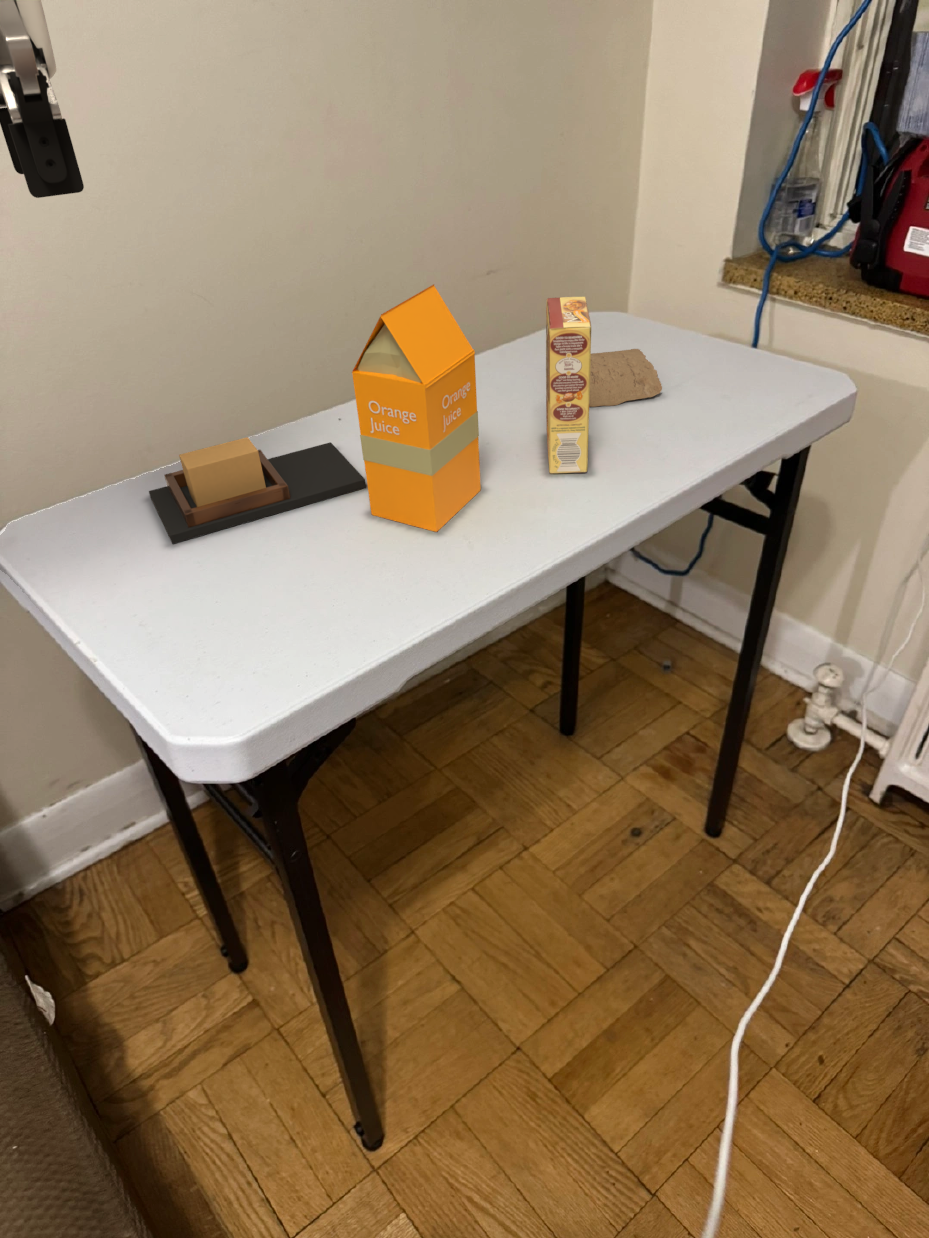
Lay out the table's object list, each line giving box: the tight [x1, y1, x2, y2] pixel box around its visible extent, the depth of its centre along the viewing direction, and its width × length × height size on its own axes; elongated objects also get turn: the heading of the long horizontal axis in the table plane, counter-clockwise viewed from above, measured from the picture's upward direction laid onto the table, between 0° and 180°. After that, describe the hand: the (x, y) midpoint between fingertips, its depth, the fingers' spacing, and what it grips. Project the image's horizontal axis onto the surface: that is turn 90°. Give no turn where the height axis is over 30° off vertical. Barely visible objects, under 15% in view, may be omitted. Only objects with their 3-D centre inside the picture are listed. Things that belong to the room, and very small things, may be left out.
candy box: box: [545, 296, 592, 474], centre depth 88 cm, size 9×4×15 cm, turn 178°
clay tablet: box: [589, 348, 663, 408], centre depth 107 cm, size 14×10×3 cm
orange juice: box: [351, 283, 482, 533], centre depth 80 cm, size 8×9×20 cm
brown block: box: [178, 437, 266, 507], centre depth 86 cm, size 4×7×4 cm, turn 117°
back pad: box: [148, 442, 367, 545], centre depth 88 cm, size 20×10×2 cm, turn 118°
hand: (48, 182), depth 58 cm, fingers open, 9 cm apart
